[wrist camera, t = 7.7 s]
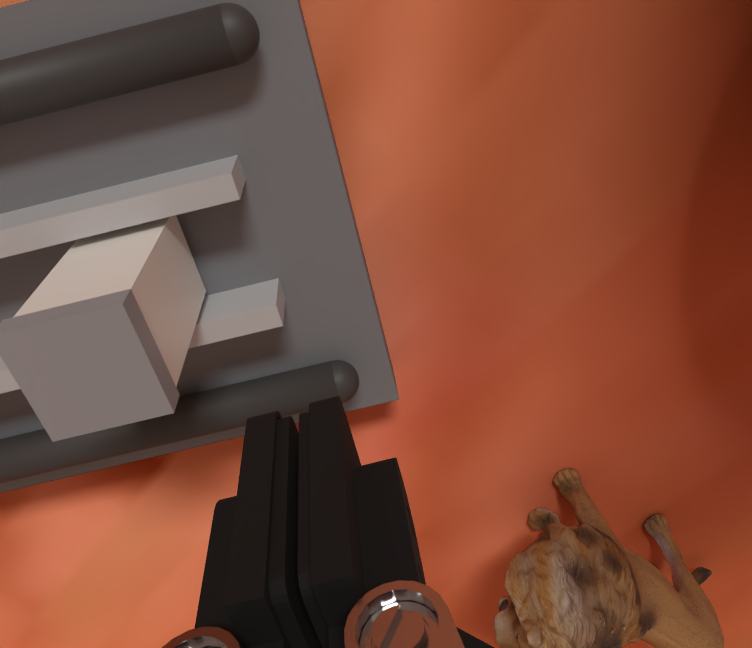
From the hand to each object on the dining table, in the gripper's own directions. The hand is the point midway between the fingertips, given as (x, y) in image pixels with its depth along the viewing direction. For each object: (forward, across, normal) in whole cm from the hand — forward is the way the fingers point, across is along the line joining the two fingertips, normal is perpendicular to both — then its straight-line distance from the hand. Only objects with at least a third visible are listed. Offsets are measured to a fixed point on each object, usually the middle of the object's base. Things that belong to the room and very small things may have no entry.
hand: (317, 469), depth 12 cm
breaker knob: (+11, +5, -1) cm, 13 cm away
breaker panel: (+14, +10, -1) cm, 17 cm away
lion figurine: (+14, -9, +19) cm, 25 cm away
